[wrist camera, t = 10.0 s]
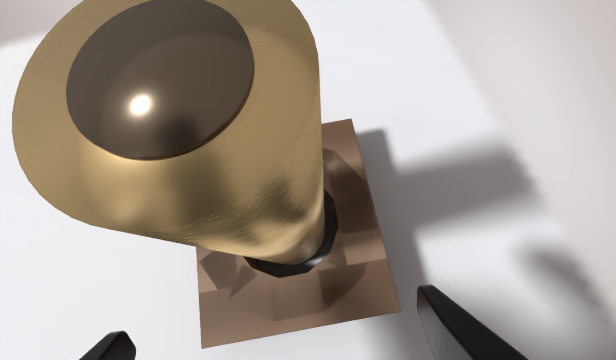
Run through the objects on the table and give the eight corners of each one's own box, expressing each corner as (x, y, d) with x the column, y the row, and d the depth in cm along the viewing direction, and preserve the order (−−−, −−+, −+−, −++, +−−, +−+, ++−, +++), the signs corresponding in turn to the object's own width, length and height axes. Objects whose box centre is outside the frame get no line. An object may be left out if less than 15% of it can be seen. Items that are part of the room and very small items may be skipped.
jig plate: (389, 305, 17) (400, 311, 14) (219, 338, 17) (201, 348, 14) (348, 136, 20) (351, 118, 18) (206, 162, 20) (190, 148, 18)
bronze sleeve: (338, 241, 18) (384, 116, 4) (275, 278, 18) (39, 304, 3) (303, 183, 19) (235, -84, 5) (244, 216, 19) (-23, 30, 4)
